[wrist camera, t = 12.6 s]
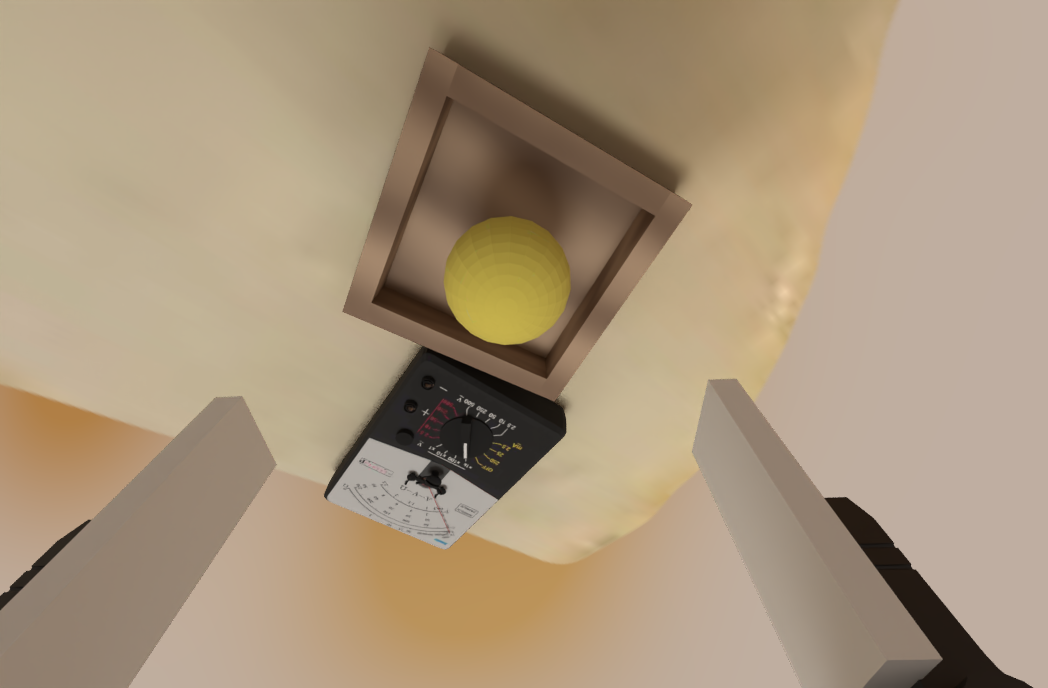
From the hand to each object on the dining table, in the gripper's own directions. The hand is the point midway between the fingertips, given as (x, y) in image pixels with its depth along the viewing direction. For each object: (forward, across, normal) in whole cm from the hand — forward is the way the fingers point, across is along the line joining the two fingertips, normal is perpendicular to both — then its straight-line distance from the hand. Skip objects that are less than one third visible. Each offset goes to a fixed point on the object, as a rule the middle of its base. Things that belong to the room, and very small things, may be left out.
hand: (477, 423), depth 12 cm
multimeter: (+19, -7, -19) cm, 28 cm away
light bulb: (+18, 0, 0) cm, 18 cm away
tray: (+19, 0, -1) cm, 19 cm away
